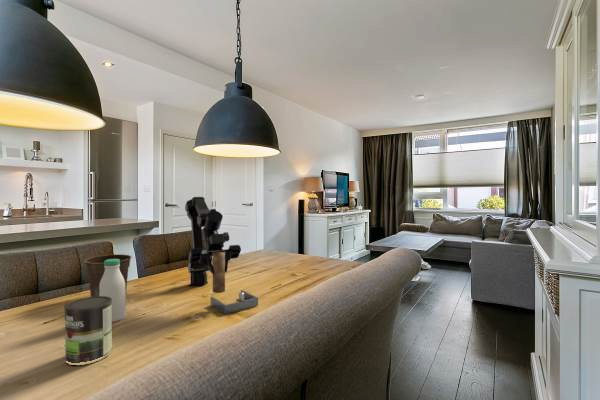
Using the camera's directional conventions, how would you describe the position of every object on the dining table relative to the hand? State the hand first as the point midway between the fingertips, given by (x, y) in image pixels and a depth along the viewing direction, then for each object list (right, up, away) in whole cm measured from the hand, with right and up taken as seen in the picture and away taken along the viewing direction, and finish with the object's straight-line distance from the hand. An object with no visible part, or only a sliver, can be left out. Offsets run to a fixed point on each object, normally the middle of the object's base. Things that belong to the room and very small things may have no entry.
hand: (219, 272), depth 114 cm
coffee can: (-26, -14, -32) cm, 44 cm away
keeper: (+4, -13, +5) cm, 15 cm away
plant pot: (-48, -13, +13) cm, 52 cm away
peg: (-1, -7, +1) cm, 7 cm away
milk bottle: (-34, -14, -8) cm, 38 cm away
